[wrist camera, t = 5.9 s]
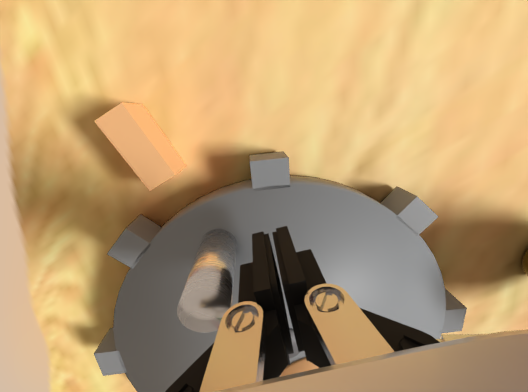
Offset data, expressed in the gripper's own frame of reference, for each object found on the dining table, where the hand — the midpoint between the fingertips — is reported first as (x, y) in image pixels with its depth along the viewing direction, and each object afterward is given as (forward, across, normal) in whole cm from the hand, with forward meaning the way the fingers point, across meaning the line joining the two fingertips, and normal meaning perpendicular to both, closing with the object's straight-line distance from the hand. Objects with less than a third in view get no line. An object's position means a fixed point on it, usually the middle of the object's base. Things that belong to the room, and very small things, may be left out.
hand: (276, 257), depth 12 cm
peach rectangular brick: (+5, +5, -6) cm, 9 cm away
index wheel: (+5, +1, +8) cm, 10 cm away
